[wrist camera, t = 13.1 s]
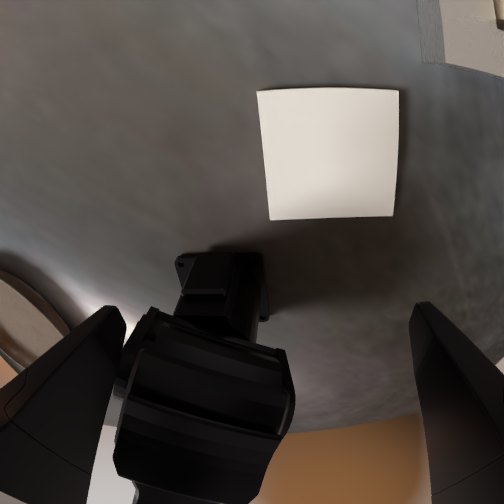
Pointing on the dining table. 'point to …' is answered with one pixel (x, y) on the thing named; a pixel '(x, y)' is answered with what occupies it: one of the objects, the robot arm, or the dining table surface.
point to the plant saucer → (26, 321)
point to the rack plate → (462, 35)
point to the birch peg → (499, 12)
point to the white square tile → (329, 151)
